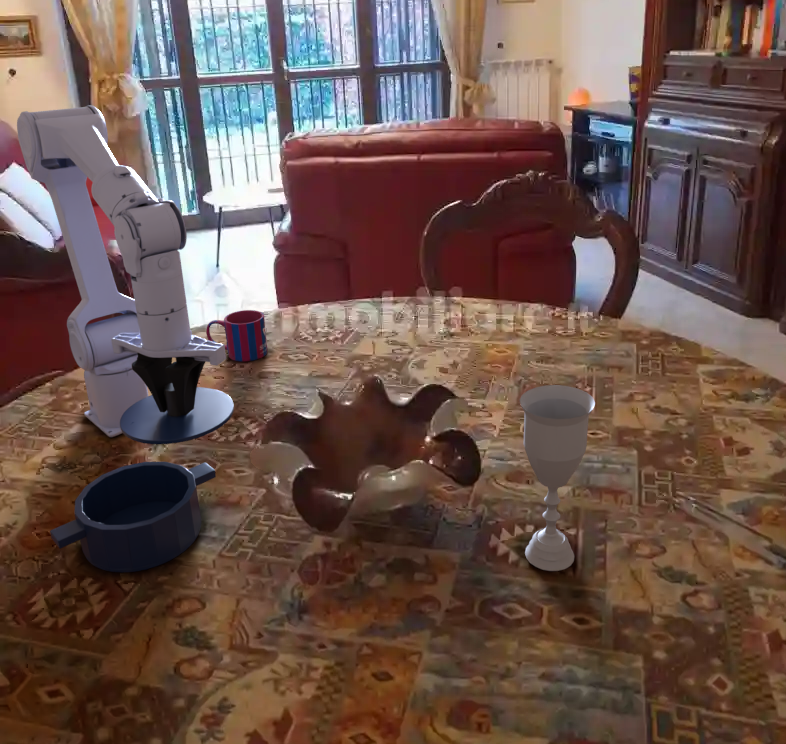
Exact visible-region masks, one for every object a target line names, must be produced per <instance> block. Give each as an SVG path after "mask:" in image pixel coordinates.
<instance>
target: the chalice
mask: <svg viewBox="0 0 786 744" xmlns="http://www.w3.org/2000/svg"><path fill="white" fill-rule="evenodd" d="M519 404H520V406H521V407H520V408H522V410H523V413H524V418H523V448H524V450H525V453H526V457H527V460H528V462H529V465H530V467H531V469H532V470H533V473H534V474H535V476H536V478H537V480H538V482H539V483H540V484H541V485H542V486H544V487H547V494H546V496H545V497H544V498H543V501H544V503H545V504H546V510H545V511H544V512H543V513H542V518H543V519H544V520H545V523H546V526H545V527H543V528H540V529H539V530H537V531H535V533H533V535H532V537H531V539H530V540H529V543H528V545H526V547H525V551H524V554H525V557H526V560H527V561H528V562H529V563H530V564H531V565H532V566H534V567H535V568H538V569H540V570H543V571H548V572H558V571H562V570H566V569H568V568H569V567H571V566H572V564H573V563H574V561H575V553H574V551H573V549H572V547H571V543H569V539H568V537H567V536H566V535H565V534H564V533H563V531H561V530H559V529H557V526H556V524H557V522H558V520H560V519H561V514H560V513H559V511H558V510H557V507H558V505H559V504H560V503H561V499H560V497H559V493H558V490H559V488H562V487H565V486H566V485H567V483H568V482H569V481H570V479H571V478H572V476H573V475H574V473H575V472H576V471H577V469H578V468H579V466H580V464H581V462H582V459H583V458H584V455H585V453H586V451H587V446H588V434H589V433H588V432H589V431H588V430H589V416H590V414H591V413H592V412H593V410H594V409H595V405H596V402H595V399H594V397H593V396H592V395H591V394H589V393H588V392H587V391H585V390H582V389H580V388H578V387H573V386H569V385H561V384H560V385H559V384H549V385H540V386H536V387H533V388H530V389H528V390H526V391H525V392H524V393H522V394H521V395H520V398H519Z"/></svg>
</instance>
